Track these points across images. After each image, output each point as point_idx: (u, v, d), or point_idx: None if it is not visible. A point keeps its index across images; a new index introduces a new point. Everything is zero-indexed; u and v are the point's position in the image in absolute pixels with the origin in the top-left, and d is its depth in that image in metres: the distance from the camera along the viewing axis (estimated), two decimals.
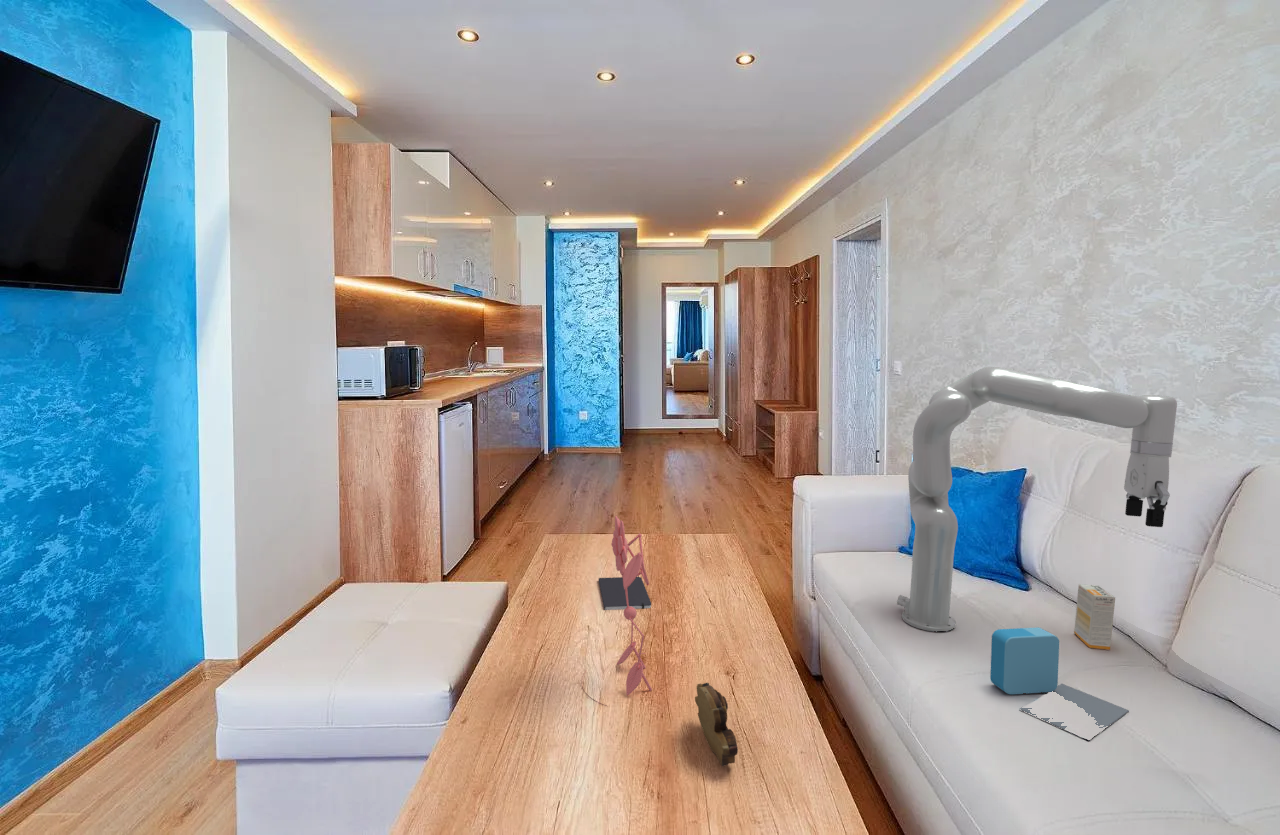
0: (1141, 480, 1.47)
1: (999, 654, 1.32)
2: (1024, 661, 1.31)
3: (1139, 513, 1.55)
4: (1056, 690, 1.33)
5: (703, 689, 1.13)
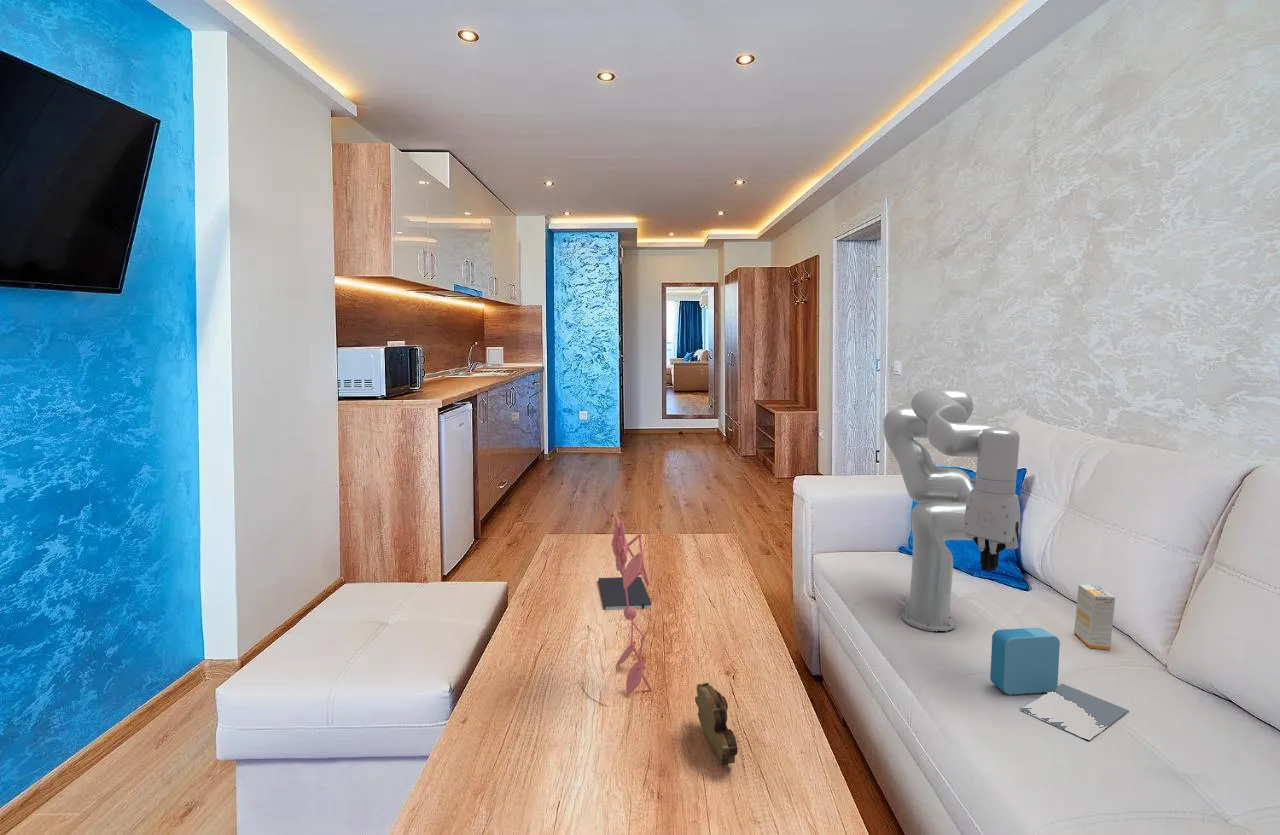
0: (1002, 523, 1.33)
1: (999, 654, 1.32)
2: (1024, 661, 1.31)
3: None
4: (1056, 690, 1.33)
5: (703, 689, 1.13)
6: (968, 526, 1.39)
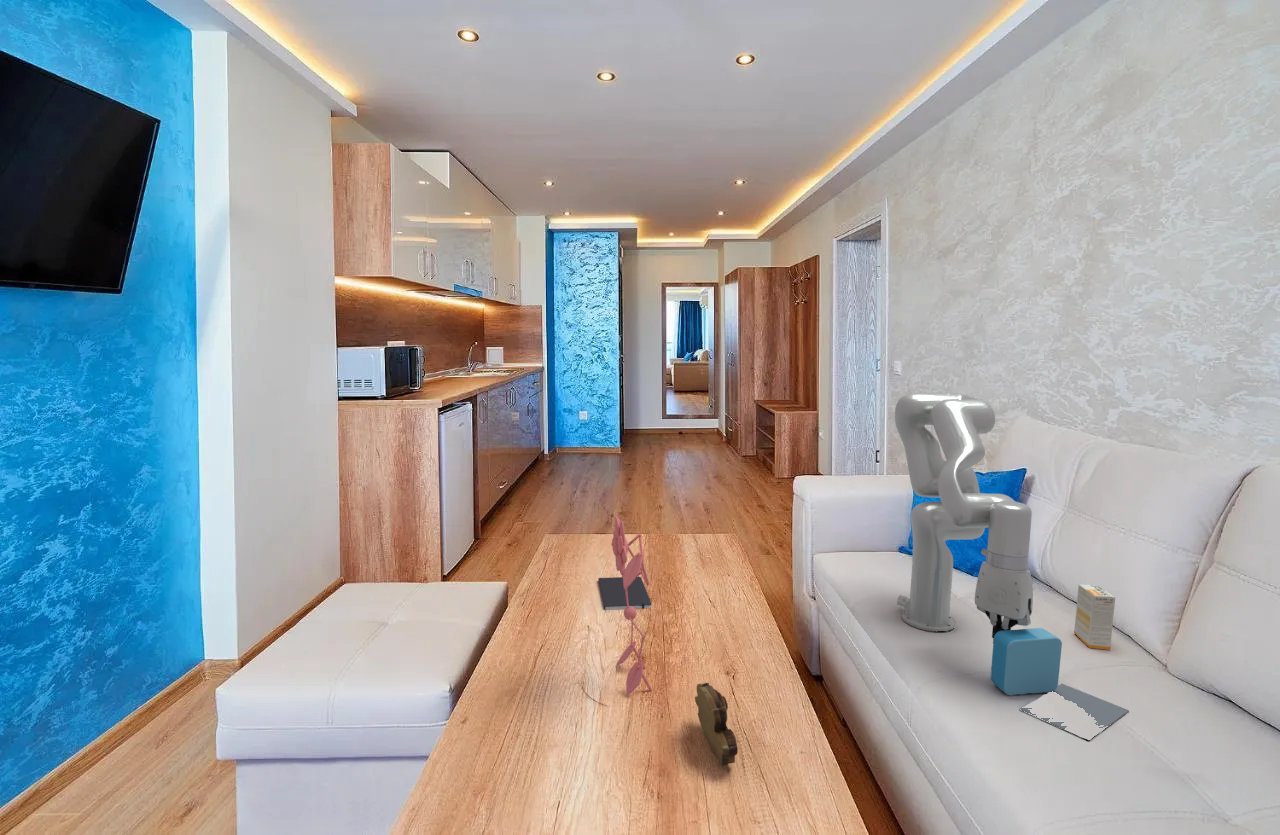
0: (1014, 600, 1.32)
1: (1001, 656, 1.32)
2: (1025, 663, 1.30)
3: None
4: (1056, 690, 1.33)
5: (703, 689, 1.13)
6: (980, 599, 1.38)
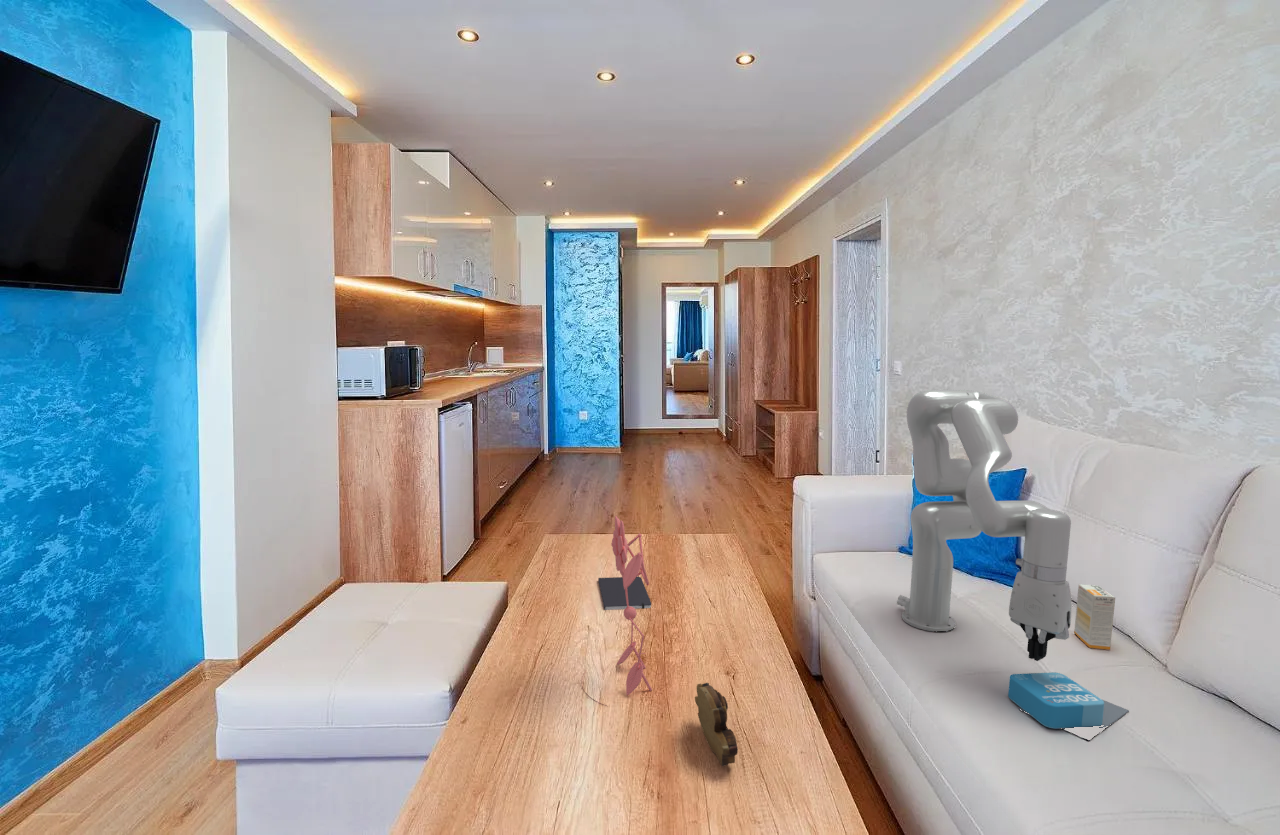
0: (1052, 613, 1.26)
1: (1032, 708, 1.23)
2: None
3: None
4: None
5: (703, 689, 1.13)
6: (1014, 612, 1.32)
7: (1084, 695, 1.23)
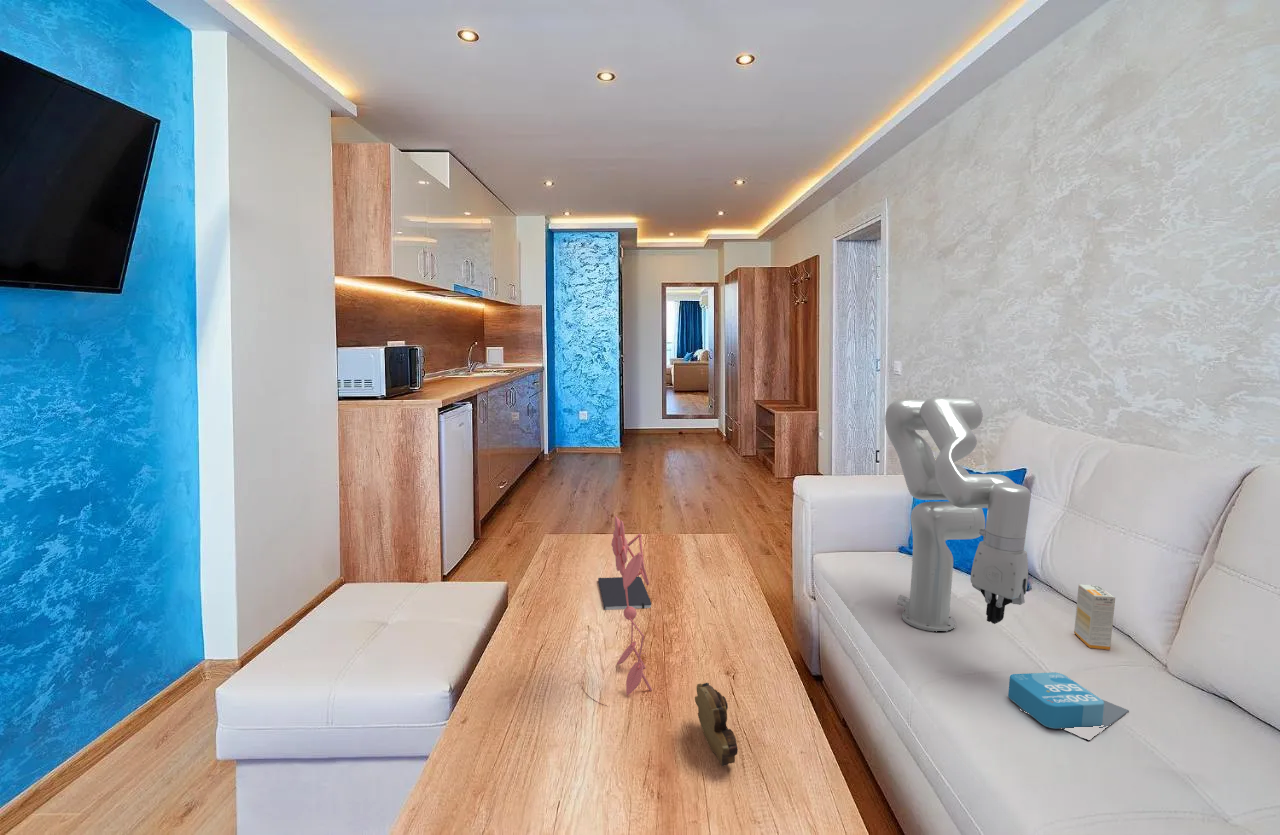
0: (1009, 580, 1.34)
1: (1032, 708, 1.23)
2: None
3: None
4: None
5: (703, 689, 1.13)
6: (975, 578, 1.40)
7: (1084, 695, 1.23)
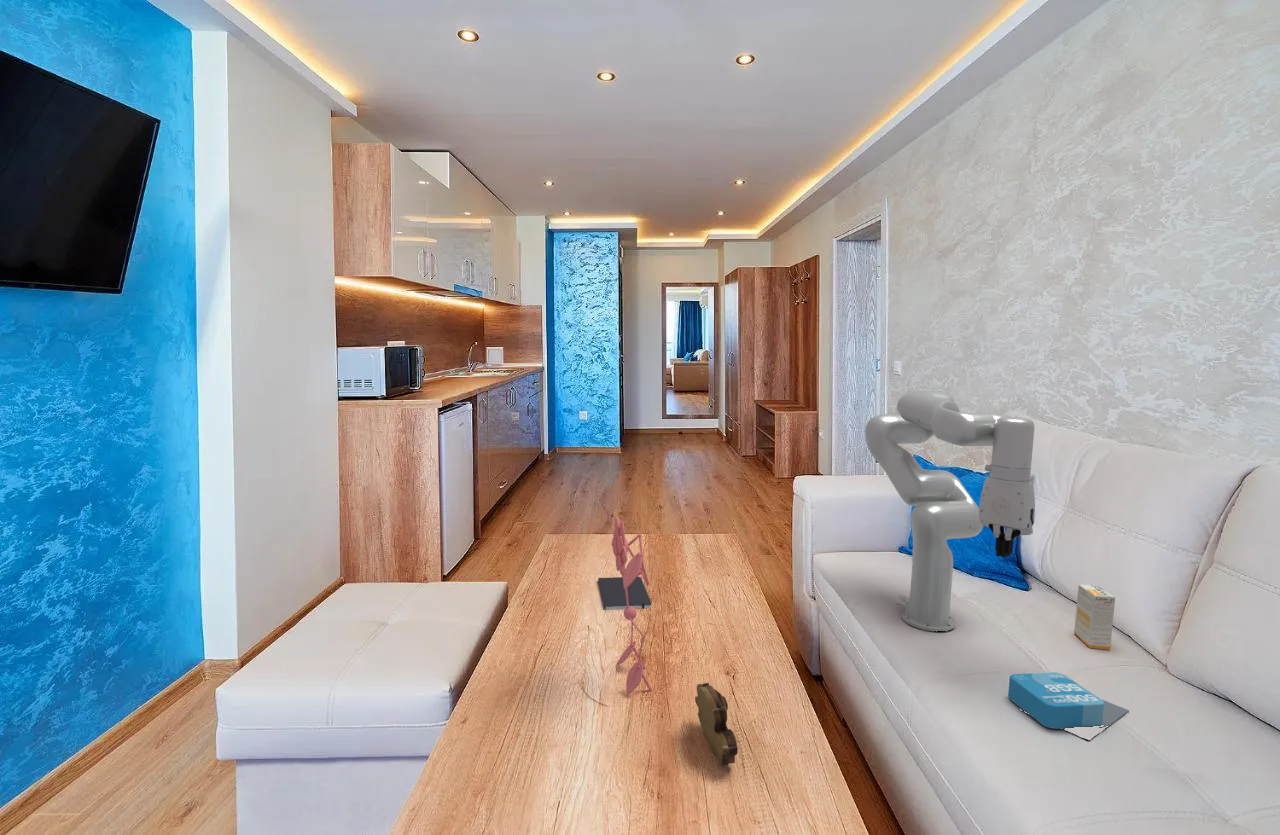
0: (1017, 510, 1.36)
1: (1032, 708, 1.23)
2: None
3: None
4: None
5: (703, 689, 1.13)
6: (983, 513, 1.42)
7: (1084, 695, 1.23)
